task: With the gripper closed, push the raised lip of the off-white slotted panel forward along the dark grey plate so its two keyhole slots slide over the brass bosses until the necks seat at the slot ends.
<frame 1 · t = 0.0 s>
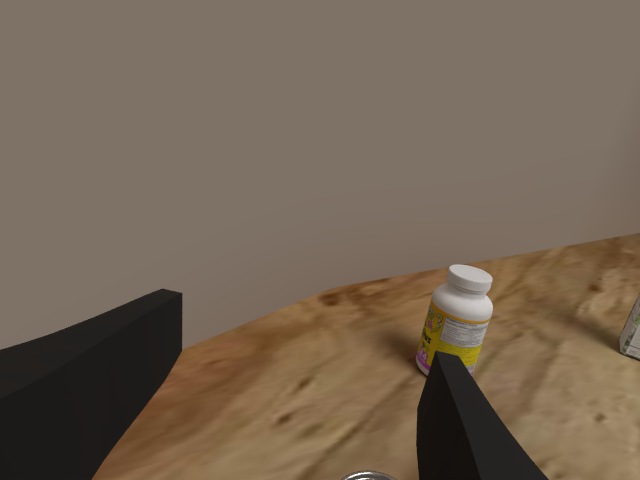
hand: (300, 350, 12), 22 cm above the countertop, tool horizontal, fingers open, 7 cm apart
supplement bottle: (441, 370, 50), on the countertop
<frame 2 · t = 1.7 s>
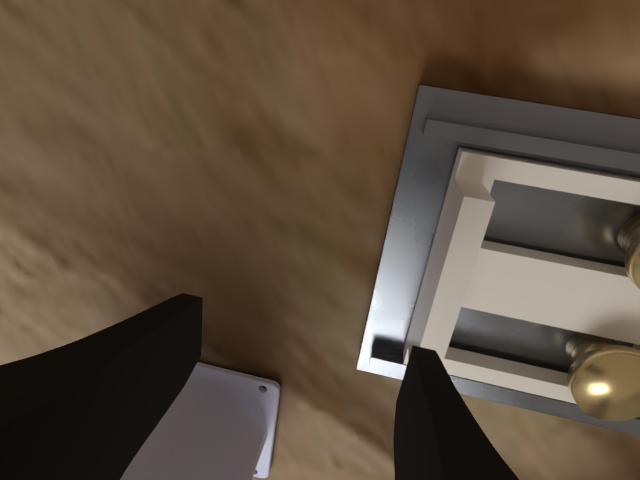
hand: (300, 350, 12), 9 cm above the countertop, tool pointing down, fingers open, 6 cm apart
boss plate: (580, 277, 19), on the countertop
panel: (559, 305, 16), point 3 cm above the countertop, slide at 0.0 cm
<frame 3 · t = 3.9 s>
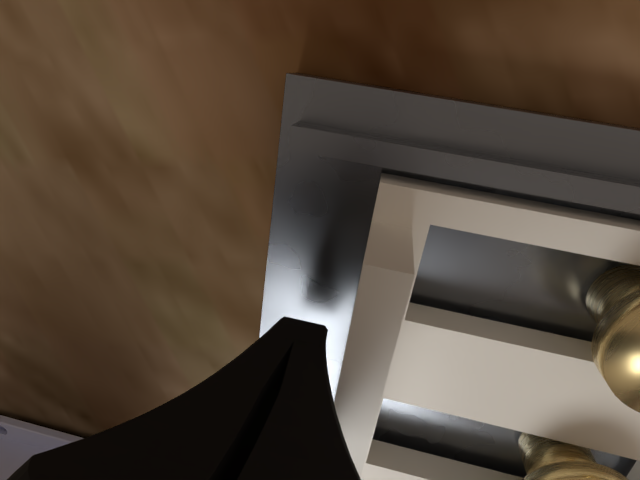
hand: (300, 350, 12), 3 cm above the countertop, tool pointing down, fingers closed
boss plate: (538, 345, 14), on the countertop
panel: (531, 412, 11), point 3 cm above the countertop, slide at 0.9 cm, touching gripper
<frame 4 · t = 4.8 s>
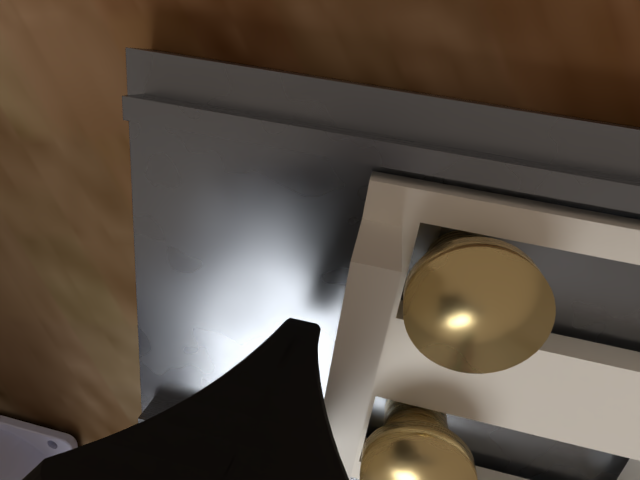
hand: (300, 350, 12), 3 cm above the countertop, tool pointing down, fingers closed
boss plate: (403, 315, 14), on the countertop
panel: (522, 409, 11), point 3 cm above the countertop, slide at 5.1 cm, touching gripper
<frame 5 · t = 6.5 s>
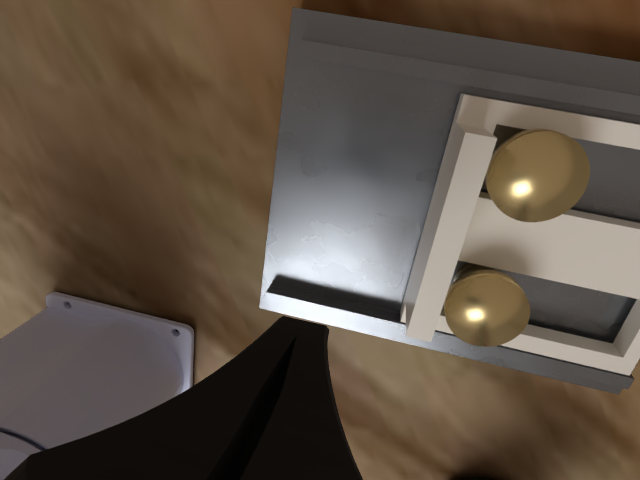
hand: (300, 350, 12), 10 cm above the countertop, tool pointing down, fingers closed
boss plate: (468, 212, 19), on the countertop
panel: (560, 255, 16), point 3 cm above the countertop, slide at 5.0 cm
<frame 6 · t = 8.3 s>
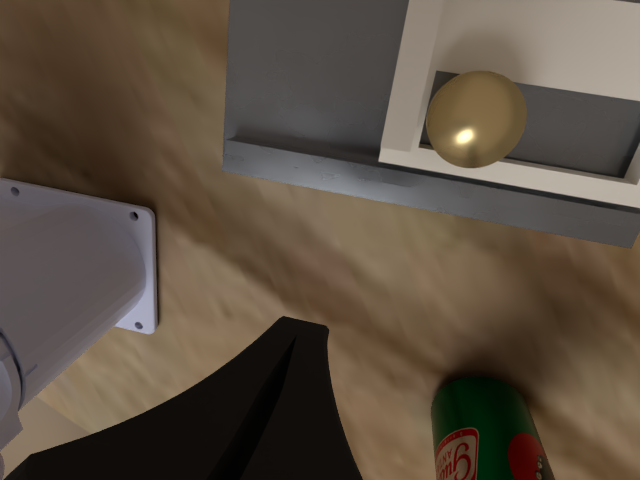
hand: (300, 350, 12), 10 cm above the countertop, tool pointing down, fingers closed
boss plate: (454, 34, 17), on the countertop
panel: (561, 40, 13), point 3 cm above the countertop, slide at 5.0 cm
soda can: (476, 403, 23), on the countertop
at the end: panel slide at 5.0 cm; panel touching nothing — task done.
